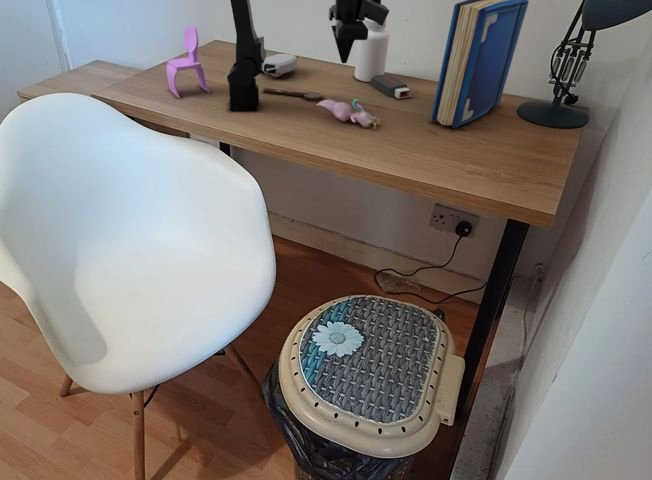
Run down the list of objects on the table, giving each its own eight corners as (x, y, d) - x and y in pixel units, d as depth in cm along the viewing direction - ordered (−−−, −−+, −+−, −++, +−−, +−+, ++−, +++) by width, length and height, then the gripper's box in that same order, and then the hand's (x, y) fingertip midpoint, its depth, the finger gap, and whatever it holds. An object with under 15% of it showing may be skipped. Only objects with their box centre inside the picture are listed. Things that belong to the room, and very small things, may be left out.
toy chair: (166, 89, 135) (158, 26, 126) (198, 83, 139) (193, 22, 129) (178, 99, 130) (170, 35, 120) (211, 93, 133) (206, 30, 124)
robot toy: (235, 76, 146) (281, 82, 139) (234, 59, 143) (280, 64, 137) (260, 64, 154) (304, 70, 148) (259, 48, 152) (304, 53, 145)
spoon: (260, 94, 133) (260, 90, 132) (266, 89, 136) (266, 84, 136) (318, 102, 130) (319, 97, 129) (323, 96, 133) (323, 91, 132)
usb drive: (386, 82, 142) (388, 71, 140) (412, 97, 133) (414, 86, 131) (370, 84, 140) (371, 74, 138) (395, 100, 131) (396, 89, 130)
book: (477, 99, 133) (504, -12, 117) (503, 107, 129) (535, -7, 113) (428, 122, 121) (451, 2, 105) (455, 132, 117) (484, 8, 101)
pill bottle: (382, 84, 141) (390, 23, 131) (352, 81, 142) (358, 21, 132) (384, 74, 147) (392, 15, 137) (355, 72, 148) (361, 13, 138)
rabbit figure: (379, 128, 121) (321, 105, 125) (387, 104, 117) (327, 81, 121) (370, 138, 117) (310, 114, 121) (377, 113, 113) (315, 89, 117)
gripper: (398, -5, 102) (387, 76, 112) (380, -23, 117) (372, 50, 127) (341, -6, 102) (335, 76, 112) (330, -24, 116) (326, 50, 126)
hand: (343, 62), depth 119 cm, fingers closed
